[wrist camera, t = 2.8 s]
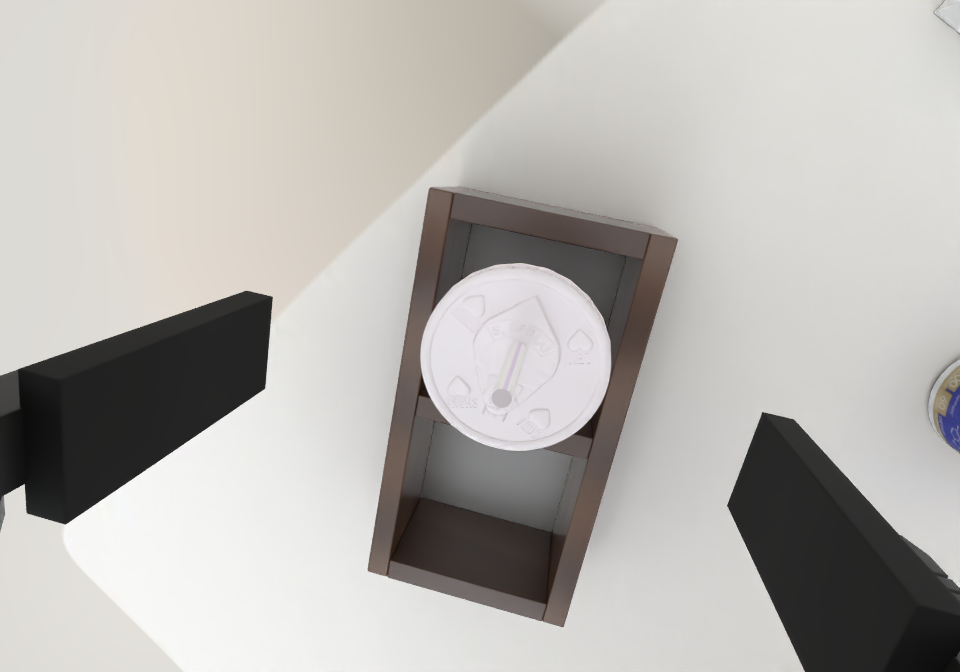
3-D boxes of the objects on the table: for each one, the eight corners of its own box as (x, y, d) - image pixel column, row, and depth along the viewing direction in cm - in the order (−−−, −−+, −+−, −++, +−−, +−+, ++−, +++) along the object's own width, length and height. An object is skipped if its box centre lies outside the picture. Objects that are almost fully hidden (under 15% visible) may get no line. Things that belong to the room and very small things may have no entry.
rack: (565, 552, 31) (563, 627, 26) (401, 507, 32) (366, 571, 27) (657, 227, 26) (678, 238, 20) (457, 186, 27) (428, 186, 21)
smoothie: (620, 263, 26) (667, 345, 13) (572, 383, 28) (571, 563, 15) (491, 219, 27) (409, 256, 13) (453, 341, 29) (348, 478, 15)
